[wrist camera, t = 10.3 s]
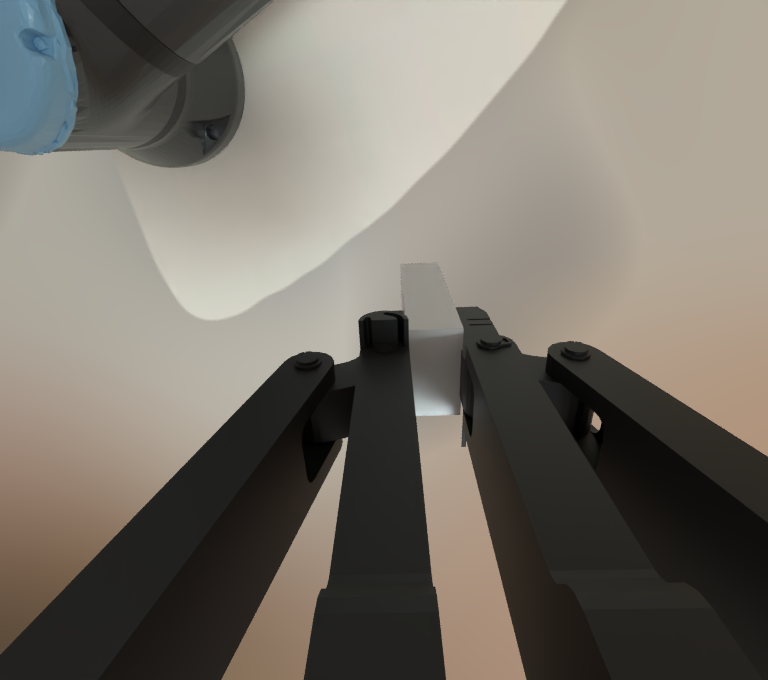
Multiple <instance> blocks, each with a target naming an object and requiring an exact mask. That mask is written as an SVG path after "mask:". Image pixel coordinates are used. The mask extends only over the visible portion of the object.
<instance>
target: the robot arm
mask: <svg viewBox="0 0 768 680" xmlns="http://www.w3.org/2000/svg"><path fill="white" fill-rule="evenodd" d="M273 1H274V0H0V151H10V152H17V153H20V154H25V155H37V154H39V155H43V154H44V153H50V152H57V151H83V150H112V149H118V150H119V151H121V152H123V153H125V154H127V155H129V156H130V157H132V158H134V159H136V160H139V161H141V162H144V163H147V164H150V165H155V166H160V167H169V168H177V167H186V166H193V165H197V164H200V163H203V162H206V161H208V160H210V159H211V158H213V157H215V156H216V155H218V154H219V153H220V152H221V151H222V150H223V149H224V148H225V147H226V146H227V145H228V144H229V142H230V141H231V140H232V138H233V136H234V135H235V133H236V131H237V129H238V126H239V124H240V121H241V117H242V113H243V108H244V98H245V87H244V77H243V71H242V67H241V63H240V59H239V56H238V53H237V51H236V48H235V46H234V43H233V41H232V39H231V36H232V35H234V34H235V33H236V32H237V31H238V30H240V29H241V28H242V27H243V26H244V25H245V24H247V23H248V22H249V21H250V20H251V19H253V18H254V17H255V16H256V15H257V14H258V13H260V12H261V11H262V10H263V9H264V8H266V7H267V6H268V5H269V4H270V3H271V2H273ZM401 295H402V311H377V312H372V313H368V314H366V315H364V316H362V317H361V318H360V319H359V321H358V322H359V335H360V349H361V350H360V356H359V357H357V358H356V359H354V360H351V361H349V362H346V363H341V364H337V365H334V360H333V358H332V357H331V356H329V355H328V354H326V353H320V352H306V353H304V352H303V353H299V354H298V355H295V356H292V357H290V358H289V359H287V360H286V361H285V362H284V363H283V364H282V365H281V366H280V367H279V368H278V369H277V370H276V371H275V372H274V373H273V374H272V375H271V376H270V377H269V378H268V379H267V380H266V381H265V382H264V383H263V384H262V386H260V387H259V389H258V390H257V391H256V392H255V393H254V394H253V395H252V396H251V397H250V398H249V399H248V400H247V401H246V402H245V403H244V404H243V405H242V406H241V407H240V408H239V409H238V410H237V411H236V412H235V413H234V414H233V415H232V416H231V417H230V418H229V419H228V421H227V422H226V423H225V424H224V425H223V426H222V427H221V428H220V429H219V430H218V431H217V432H216V433H215V434H214V435H213V436H212V437H211V438H210V439H209V440H208V441H207V442H206V443H205V444H204V445H203V446H202V447H201V448H200V449H199V450H198V451H197V452H196V454H195V455H194V456H193V457H192V458H191V459H190V460H189V461H188V462H187V463H186V464H185V465H184V466H183V467H182V468H181V469H180V470H179V471H178V472H177V473H176V474H175V475H174V476H173V477H172V478H171V479H170V480H169V482H167V483H166V484H165V486H164V487H163V488H162V489H161V490H160V491H159V492H158V493H157V494H156V495H155V496H154V497H153V498H152V499H151V500H150V501H149V502H148V503H147V504H146V505H145V506H144V507H143V508H142V509H141V510H140V511H139V512H138V513H137V514H136V515H135V516H134V517H133V518H132V520H131V521H130V522H129V523H128V524H127V525H126V526H125V527H124V528H123V529H122V530H121V531H120V532H119V533H118V534H117V535H116V536H115V537H114V538H113V539H112V540H111V541H110V542H109V543H108V544H107V545H106V546H105V547H104V548H103V549H102V551H101V552H100V553H99V554H98V555H97V556H96V557H95V558H94V559H93V560H92V561H91V562H90V563H89V564H88V565H87V566H86V567H85V568H84V569H83V570H82V571H81V572H80V573H79V574H78V575H77V576H76V577H75V578H74V579H73V580H72V581H71V583H70V584H69V585H68V586H67V587H66V588H65V589H64V590H63V591H62V592H61V593H60V594H59V595H58V596H57V597H56V598H55V599H54V600H53V601H52V602H51V603H50V604H49V605H48V606H47V607H46V608H45V609H44V610H43V611H42V613H40V614H39V616H37V618H36V619H35V620H34V621H33V622H32V623H31V624H30V625H29V626H28V627H27V628H26V629H25V630H24V631H23V632H22V633H21V634H20V635H19V636H18V637H17V638H16V639H15V640H14V641H13V642H12V643H11V644H10V646H8V648H6V649H5V651H4V652H3V653H2V654H1V655H0V680H221V679H222V677H223V675H224V673H225V671H226V669H227V667H228V665H229V663H230V662H231V660H232V658H233V656H234V653H235V652H236V650H237V648H238V646H239V644H240V642H241V640H242V638H243V636H244V634H245V633H246V631H247V628H248V627H249V625H250V623H251V621H252V619H253V617H254V615H255V613H256V611H257V609H258V607H259V606H260V604H261V602H262V600H263V598H264V596H265V594H266V592H267V590H268V588H269V586H270V584H271V583H272V581H273V579H274V577H275V575H276V573H277V571H278V569H279V567H280V565H281V563H282V561H283V559H284V557H285V555H286V554H287V552H288V550H289V548H290V546H291V544H292V542H293V540H294V538H295V536H296V534H297V532H298V530H299V528H300V527H301V525H302V523H303V521H304V519H305V517H306V515H307V513H308V511H309V509H310V507H311V505H312V503H313V501H314V500H315V498H316V496H317V494H318V492H319V490H320V488H321V486H322V484H323V482H324V480H325V478H326V476H327V475H328V473H329V471H330V469H331V467H332V465H333V463H334V461H335V459H336V457H337V455H338V453H339V451H340V450H341V447H342V442H343V441H342V438H346V437H348V444H347V451H346V458H345V465H344V473H343V480H342V487H341V495H340V502H339V509H338V517H337V524H336V531H335V539H334V545H333V553H332V560H331V568H330V575H329V581H328V585H327V587H326V589H321V590H320V593H319V595H318V598H317V603H316V608H315V613H314V619H313V625H312V631H311V637H310V644H309V650H308V657H307V663H306V669H305V675H304V680H446V676H445V666H444V656H443V647H442V639H441V628H440V619H439V610H438V602H437V594H436V589H435V587H433V583H432V575H431V566H430V555H429V545H428V534H427V524H426V514H425V504H424V494H423V484H422V474H421V463H420V453H419V443H418V433H417V423H416V416H433V415H460V406H461V402H462V406H463V426H462V447H465V446H466V441H467V444H468V448H469V452H470V456H471V460H472V464H473V468H474V472H475V476H476V480H477V484H478V488H479V492H480V496H481V500H482V504H483V508H484V512H485V516H486V520H487V524H488V528H489V532H490V536H491V540H492V544H493V548H494V552H495V556H496V560H497V564H498V568H499V572H500V576H501V580H502V584H503V588H504V592H505V596H506V600H507V604H508V608H509V612H510V616H511V620H512V624H513V627H514V632H515V636H516V639H517V644H518V647H519V652H520V656H521V659H522V663H523V667H524V671H525V675H526V679H527V680H768V457H767V456H766V455H764V454H762V453H761V452H759V451H758V450H756V449H755V448H753V447H752V446H750V445H748V444H747V443H745V442H744V441H742V440H741V439H739V438H737V437H735V436H734V435H733V434H731V433H729V432H728V431H726V430H725V429H723V428H722V427H720V426H718V425H717V424H715V423H714V422H712V421H711V420H709V419H707V418H706V417H704V416H702V415H701V414H699V413H698V412H696V411H695V410H693V409H692V408H690V407H688V406H687V405H685V404H684V403H682V402H681V401H679V400H677V399H676V398H674V397H672V396H671V395H670V394H668V393H666V392H665V391H663V390H661V389H660V388H658V387H657V386H655V385H654V384H652V383H651V382H649V381H647V380H646V379H644V378H642V377H641V376H640V375H638V374H636V373H635V372H633V371H632V370H630V369H628V368H627V367H625V366H624V365H622V364H621V363H619V362H617V361H616V360H614V359H613V358H611V357H610V356H608V355H606V354H605V353H603V352H602V351H600V350H598V349H596V348H594V347H592V346H590V345H586V344H583V343H581V342H574V341H568V342H560V343H556V344H552V345H551V346H550V347H549V348H548V354H547V357H538V356H531V355H525V354H522V353H521V351H520V350H519V348H518V347H517V345H516V344H515V342H513V341H512V340H511V339H509V338H507V337H505V336H500V335H499V334H498V332H497V330H496V329H495V327H494V325H493V323H492V321H491V320H490V318H489V316H488V314H487V313H486V312H485V311H484V310H482V309H480V308H478V307H455V306H454V303H453V300H452V297H451V295H450V292H449V290H448V287H447V285H446V282H445V280H444V277H443V275H442V272H441V270H440V267H439V264H438V263H419V264H418V263H417V264H401ZM594 412H595V413H596V414H597V415H598V416H599V417H600V420H601V422H602V423H601V428H600V430H597V429H596V428H595V427H594V426H593V425H591V423H592V417H593V413H594Z"/></svg>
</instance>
